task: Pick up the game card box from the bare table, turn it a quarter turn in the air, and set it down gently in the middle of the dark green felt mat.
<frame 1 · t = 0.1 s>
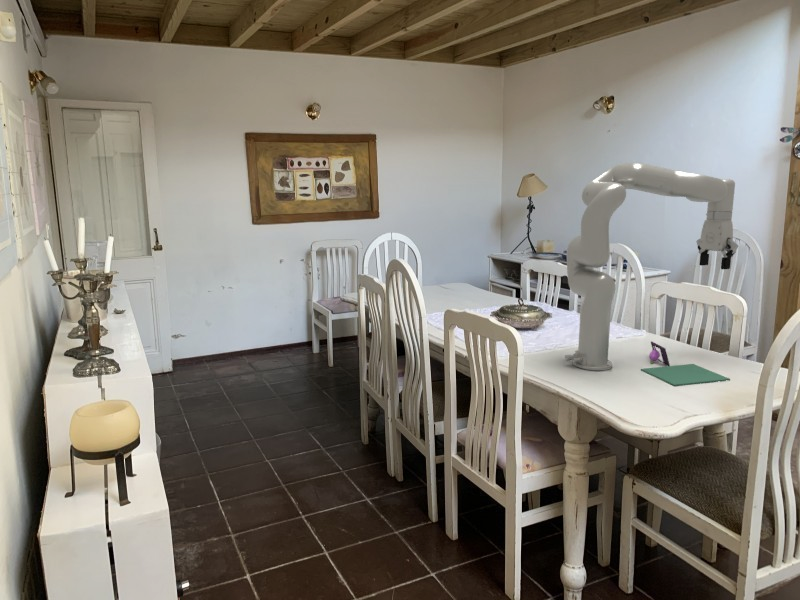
hand: (714, 267, 205), 31 cm above the table, tool pointing down, fingers open, 9 cm apart
card mat: (684, 375, 189), on the table
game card: (656, 363, 202), on the table
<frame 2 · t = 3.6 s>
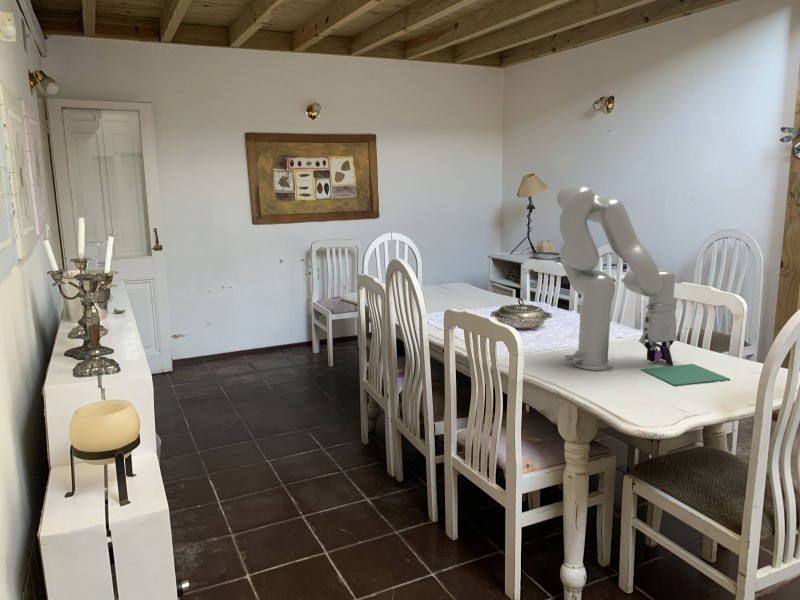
hand: (657, 359, 203), 1 cm above the table, tool pointing down, fingers closed on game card, 4 cm apart
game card: (658, 364, 202), on the table, touching gripper
when the fingers open (2 cm above the table, at t = 11.0 s): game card stays where it is, resting on card mat.
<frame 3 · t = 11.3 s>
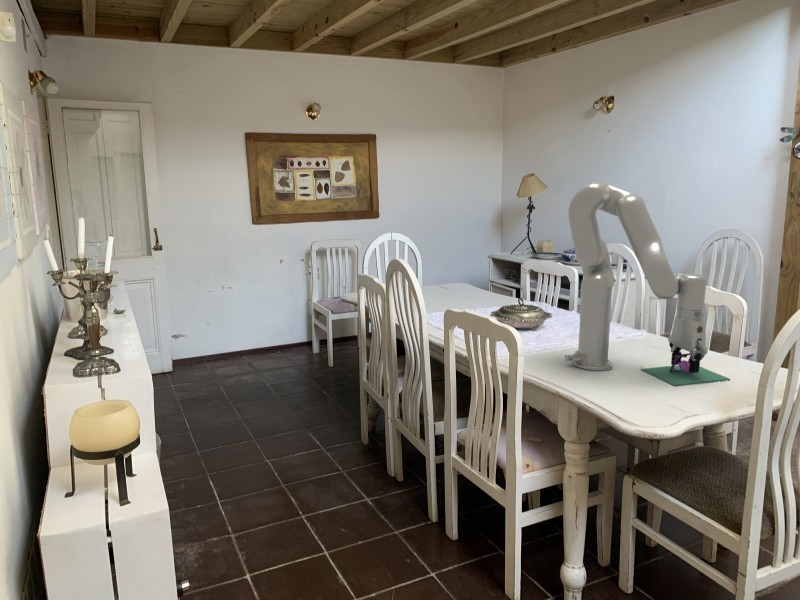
hand: (684, 368, 189), 2 cm above the table, tool pointing down, fingers open, 7 cm apart
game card: (686, 373, 190), resting on card mat
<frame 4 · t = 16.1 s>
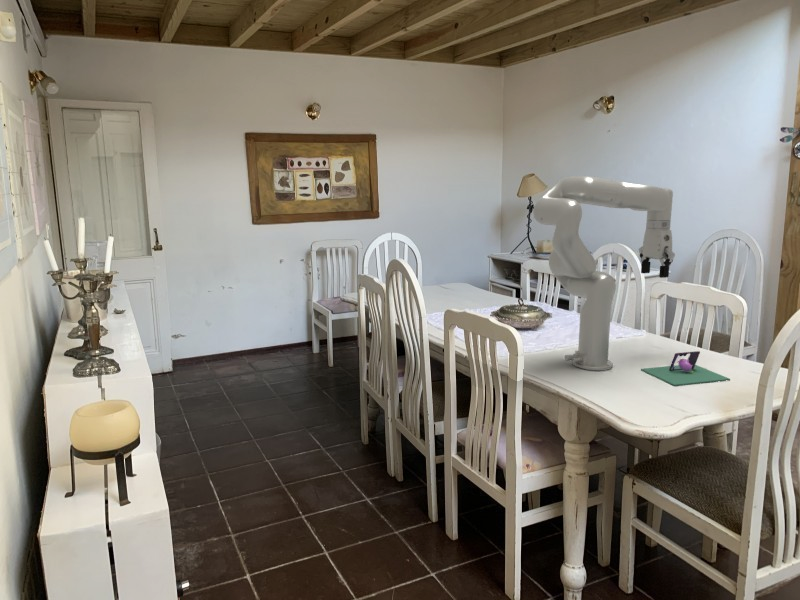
hand: (654, 275, 207), 28 cm above the table, tool pointing down, fingers open, 9 cm apart
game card: (685, 372, 191), resting on card mat
at the end: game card inside the target area on the card mat (2.6 cm from its centre), point 0.3 cm above the card mat's base; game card touching card mat; the gripper is holding nothing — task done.
